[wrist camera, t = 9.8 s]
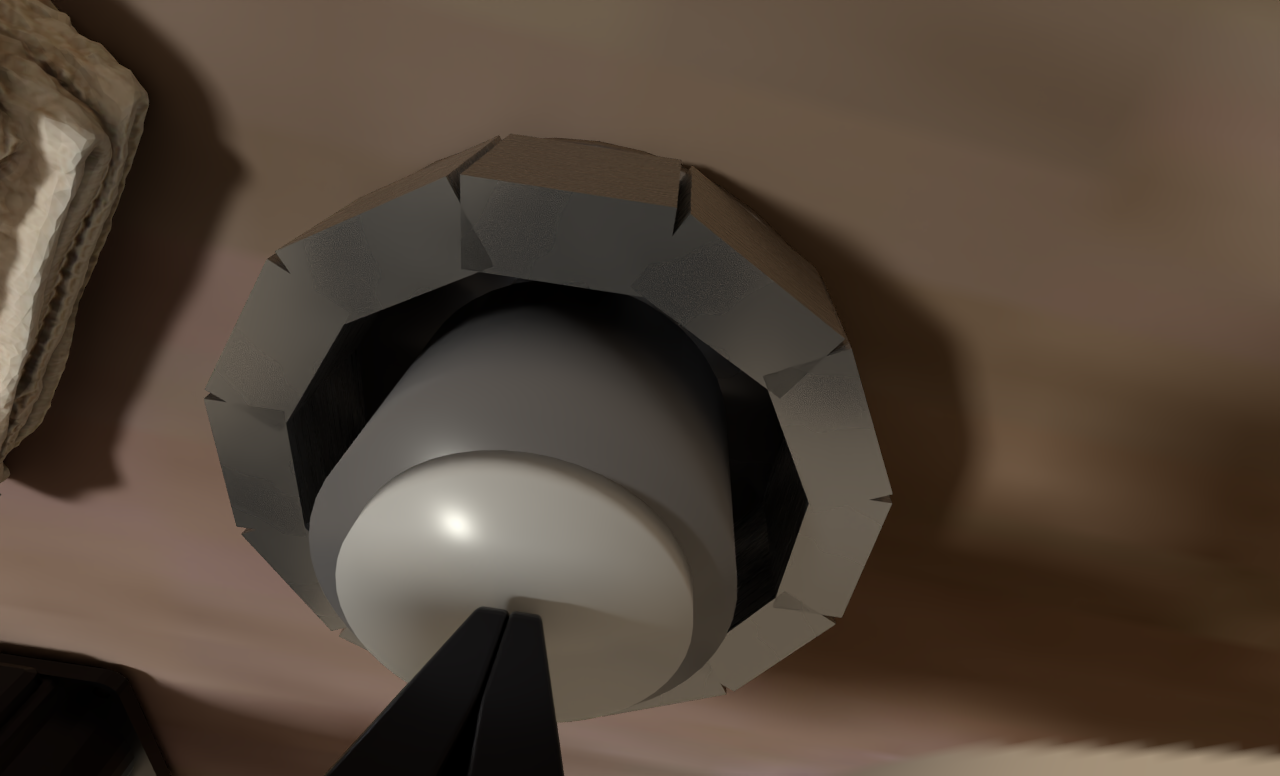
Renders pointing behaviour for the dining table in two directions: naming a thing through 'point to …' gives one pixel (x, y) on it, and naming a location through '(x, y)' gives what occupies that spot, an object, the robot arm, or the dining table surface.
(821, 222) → the dining table surface
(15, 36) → the washcloth
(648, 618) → the cap
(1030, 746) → the dining table surface
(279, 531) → the grey ring
